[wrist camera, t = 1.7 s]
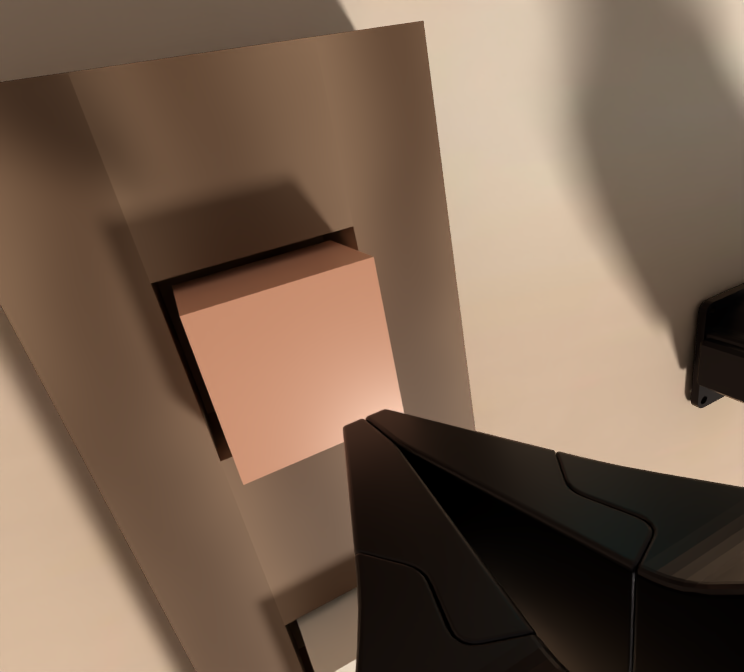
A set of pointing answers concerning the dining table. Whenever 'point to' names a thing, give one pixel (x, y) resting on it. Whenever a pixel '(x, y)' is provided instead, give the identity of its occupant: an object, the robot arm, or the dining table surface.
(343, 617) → the white square block
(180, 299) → the terracotta key
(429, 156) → the key panel
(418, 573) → the robot arm
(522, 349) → the dining table surface
